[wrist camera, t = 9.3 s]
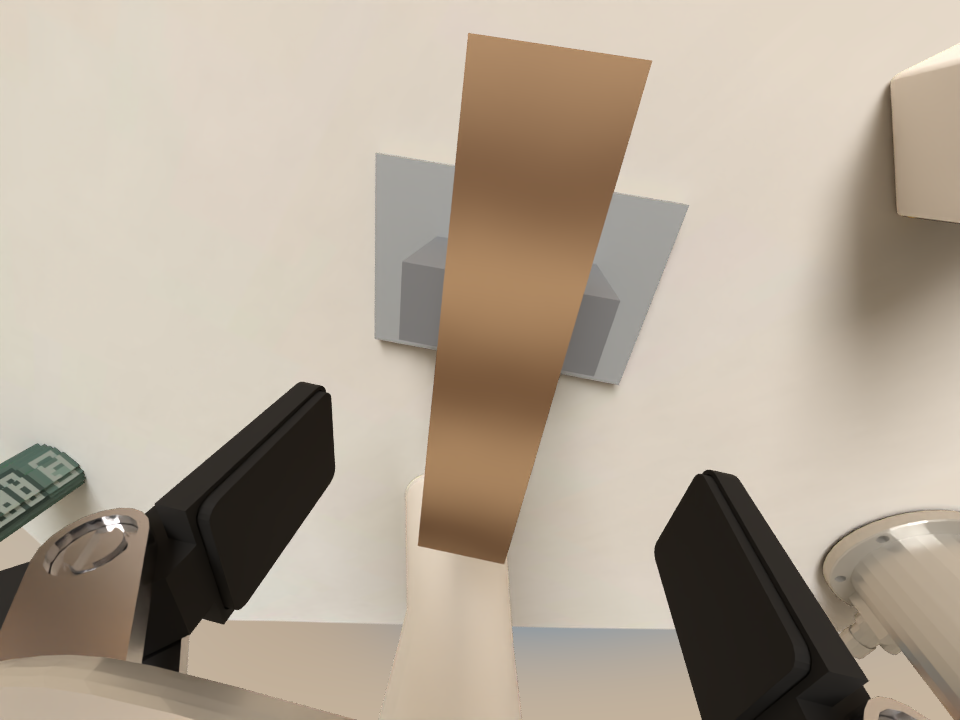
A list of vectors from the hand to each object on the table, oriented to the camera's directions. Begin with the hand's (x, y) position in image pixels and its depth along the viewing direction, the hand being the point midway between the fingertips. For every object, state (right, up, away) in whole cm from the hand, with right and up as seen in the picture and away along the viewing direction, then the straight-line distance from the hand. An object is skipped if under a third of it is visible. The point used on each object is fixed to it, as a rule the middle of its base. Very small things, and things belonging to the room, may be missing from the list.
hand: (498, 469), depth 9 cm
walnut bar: (+1, +5, +8) cm, 9 cm away
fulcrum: (+2, +8, +15) cm, 17 cm away
